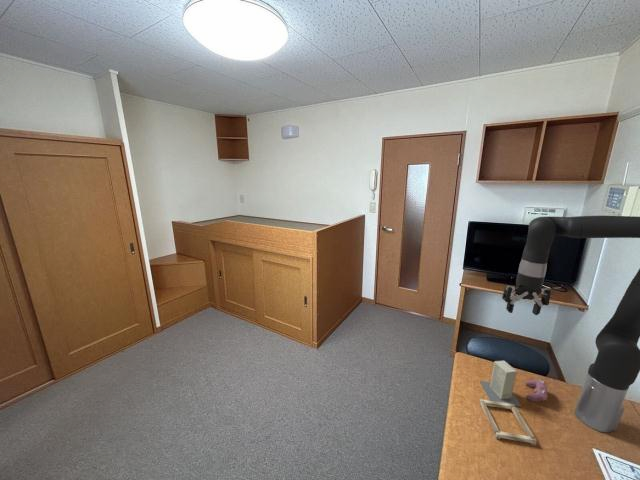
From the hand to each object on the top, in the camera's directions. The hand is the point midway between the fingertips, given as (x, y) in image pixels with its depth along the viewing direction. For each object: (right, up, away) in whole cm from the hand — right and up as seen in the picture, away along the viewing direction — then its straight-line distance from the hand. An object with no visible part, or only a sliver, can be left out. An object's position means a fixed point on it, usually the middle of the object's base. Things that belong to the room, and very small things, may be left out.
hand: (522, 313), depth 97 cm
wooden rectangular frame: (-12, -36, -8) cm, 39 cm away
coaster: (-6, -33, +4) cm, 33 cm away
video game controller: (+8, -33, +3) cm, 34 cm away
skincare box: (-6, -32, +4) cm, 33 cm away
